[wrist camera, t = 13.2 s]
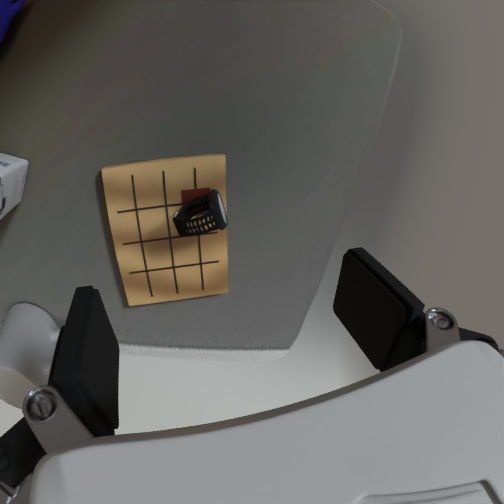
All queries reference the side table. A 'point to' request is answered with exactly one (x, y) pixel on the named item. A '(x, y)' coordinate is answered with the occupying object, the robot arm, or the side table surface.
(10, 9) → the decorative object
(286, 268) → the side table surface
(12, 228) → the side table surface
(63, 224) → the side table surface
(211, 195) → the smartwatch
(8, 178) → the ink box
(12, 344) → the mug
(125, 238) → the board
